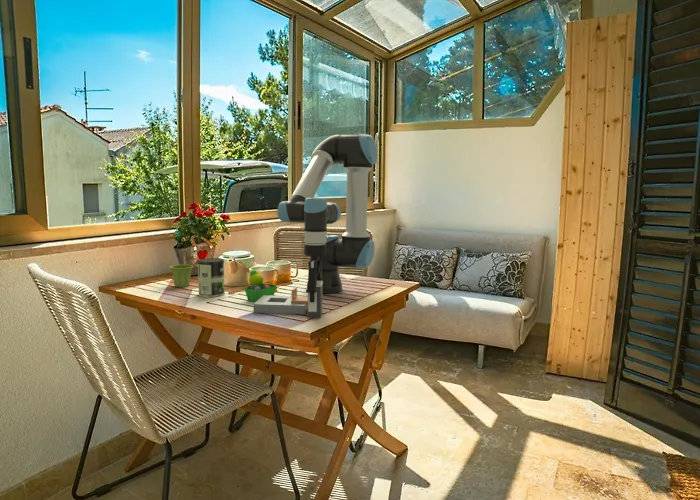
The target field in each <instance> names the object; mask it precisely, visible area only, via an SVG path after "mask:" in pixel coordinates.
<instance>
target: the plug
mask: <svg viewBox="0 0 700 500" xmlns="http://www.w3.org/2000/svg"><path fill="white" fill-rule="evenodd" d="M322 285H323V281H317V286H316V292H317V311H316V312H308V311H307V318H308V319H321V318H322V316H323V293H322ZM307 287H308V283H306V288H307Z"/></svg>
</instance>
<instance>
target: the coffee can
mask: <svg viewBox="0 0 700 500" xmlns="http://www.w3.org/2000/svg"><path fill="white" fill-rule="evenodd" d="M196 262H197V279H198V280H197V282H198V284H197V285H198V296H199V297H201V298H215V297H216V298H218V297H221V296H222V297H223V296H225V294H226V293H225V266H224V264H225V260H224V258H217V257H216V258H215V257H214V258H213V257H208V258H201V259H198V260H197V261H196Z"/></svg>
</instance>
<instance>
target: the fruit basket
mask: <svg viewBox="0 0 700 500" xmlns="http://www.w3.org/2000/svg"><path fill="white" fill-rule="evenodd" d="M248 281H249V284H250V285H249V286H245V287H243V289H244V292H245V295H246V299H247V301H249V302H254V303H255V302H256V301H257V300H259V299H260V298H261V297H262V296H263V295H275V292H276V289H277V285H276V284H272V283H266V282H265V283H264V277H263V275H262V274H261V273H260V272H259V271H257V270H256V269H252V270H250V272H249V280H248Z"/></svg>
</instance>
